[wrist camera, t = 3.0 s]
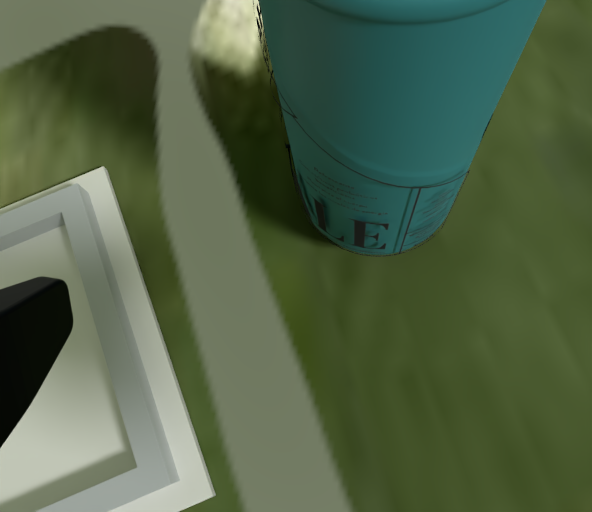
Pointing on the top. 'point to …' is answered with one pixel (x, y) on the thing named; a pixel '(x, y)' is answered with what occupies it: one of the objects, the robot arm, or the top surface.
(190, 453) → the white square tray
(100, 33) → the top surface
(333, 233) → the beverage bottle
